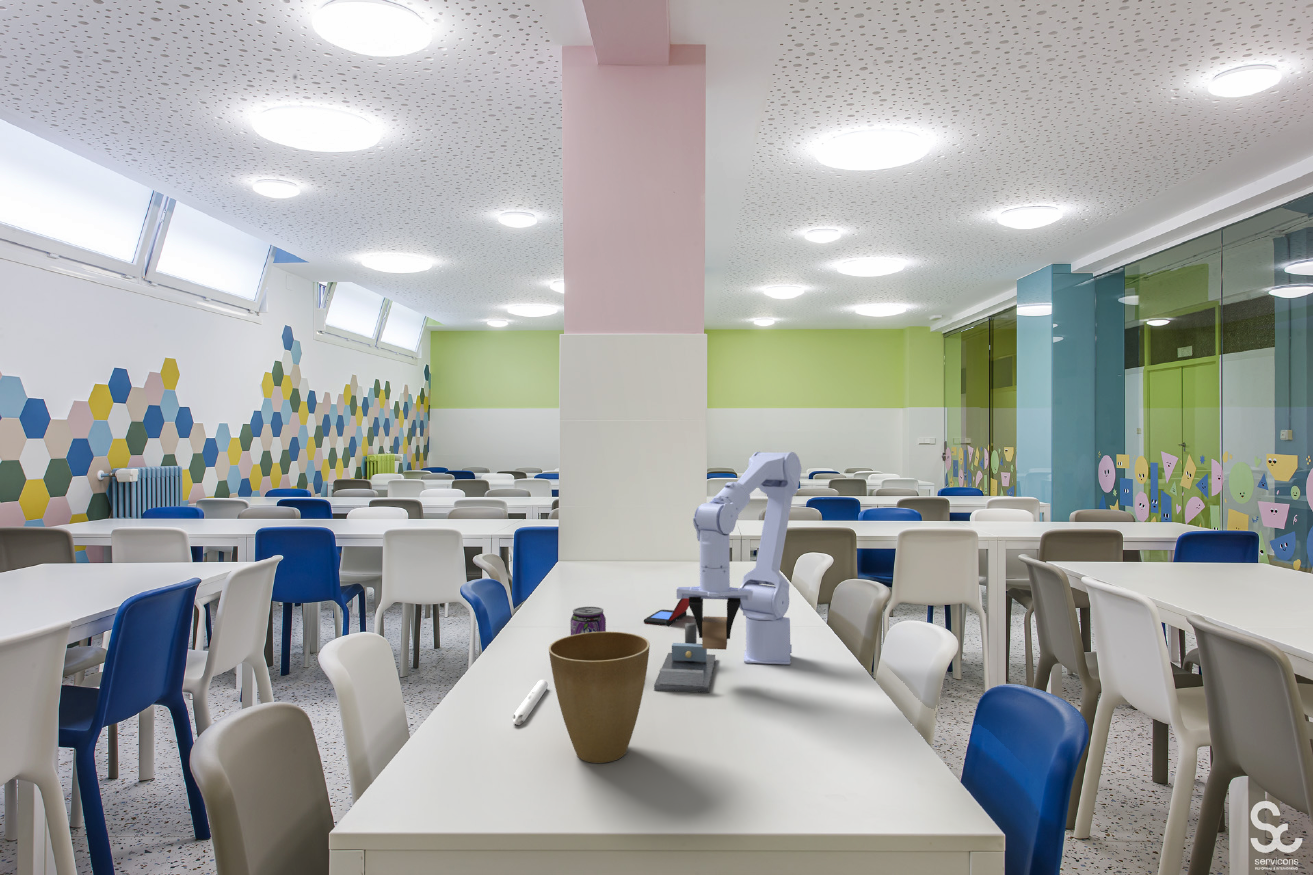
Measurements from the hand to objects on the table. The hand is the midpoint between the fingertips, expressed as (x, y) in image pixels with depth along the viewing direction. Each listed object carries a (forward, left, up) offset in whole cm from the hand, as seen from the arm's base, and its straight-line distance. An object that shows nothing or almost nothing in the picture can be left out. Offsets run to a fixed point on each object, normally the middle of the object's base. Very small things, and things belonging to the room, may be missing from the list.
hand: (714, 637), depth 135 cm
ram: (+6, -10, -7) cm, 14 cm away
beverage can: (+26, -4, -9) cm, 27 cm away
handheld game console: (+14, -46, -9) cm, 49 cm away
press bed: (+6, -4, -8) cm, 11 cm away
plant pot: (+15, +33, -9) cm, 37 cm away
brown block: (0, 0, -2) cm, 2 cm away
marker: (+31, +17, -9) cm, 37 cm away
